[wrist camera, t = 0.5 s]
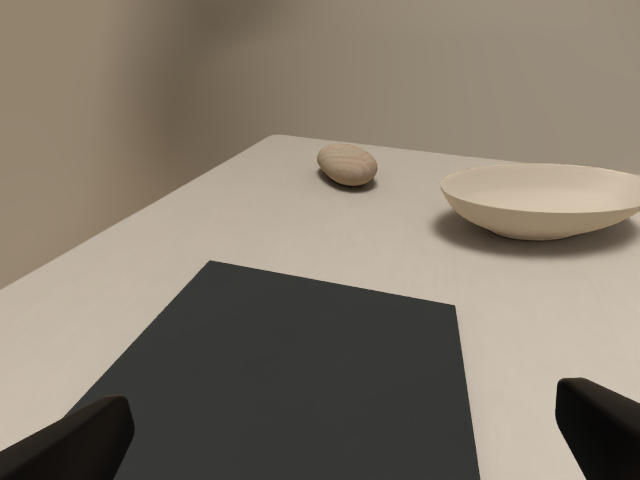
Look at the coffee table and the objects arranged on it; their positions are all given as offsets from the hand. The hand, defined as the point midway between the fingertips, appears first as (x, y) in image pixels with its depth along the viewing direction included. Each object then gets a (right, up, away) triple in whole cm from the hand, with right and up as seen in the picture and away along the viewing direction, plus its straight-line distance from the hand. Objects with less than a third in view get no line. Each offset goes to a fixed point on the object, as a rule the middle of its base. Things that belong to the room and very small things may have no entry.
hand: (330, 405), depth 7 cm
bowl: (+28, +5, +38) cm, 48 cm away
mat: (-2, -6, +17) cm, 19 cm away
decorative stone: (+4, +14, +51) cm, 53 cm away
